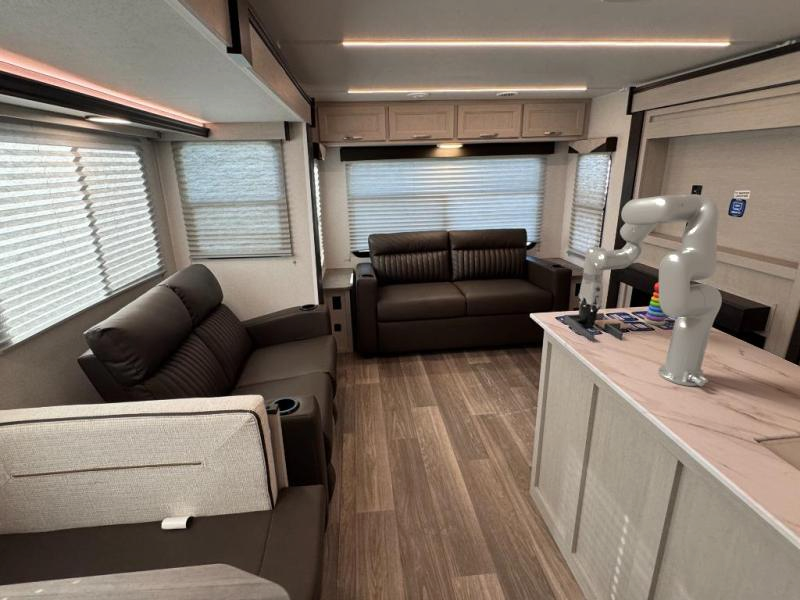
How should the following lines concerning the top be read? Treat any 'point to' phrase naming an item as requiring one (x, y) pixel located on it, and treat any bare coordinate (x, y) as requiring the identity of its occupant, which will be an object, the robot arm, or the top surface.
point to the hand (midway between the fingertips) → (587, 316)
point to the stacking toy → (655, 310)
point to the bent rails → (572, 322)
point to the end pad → (603, 322)
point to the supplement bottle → (585, 314)
